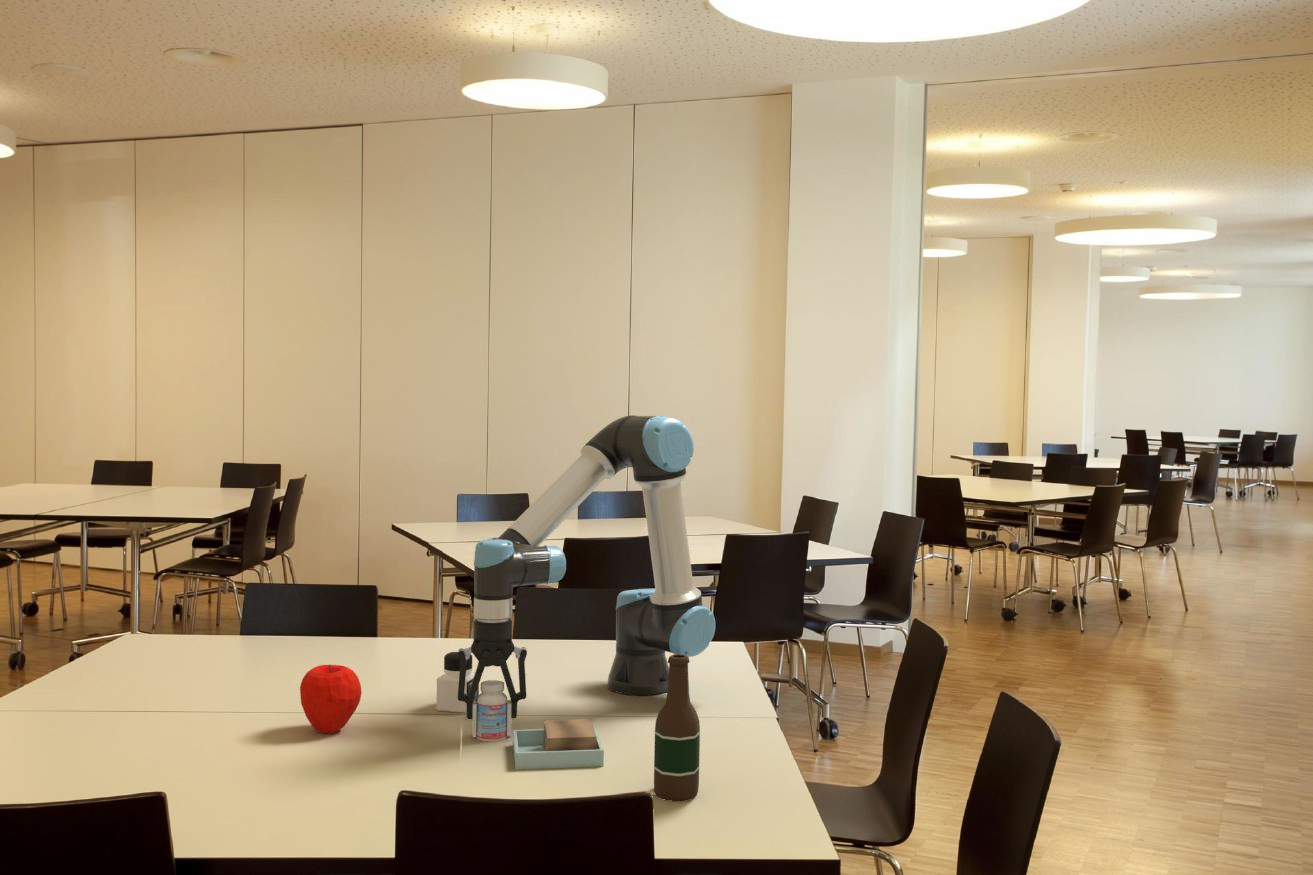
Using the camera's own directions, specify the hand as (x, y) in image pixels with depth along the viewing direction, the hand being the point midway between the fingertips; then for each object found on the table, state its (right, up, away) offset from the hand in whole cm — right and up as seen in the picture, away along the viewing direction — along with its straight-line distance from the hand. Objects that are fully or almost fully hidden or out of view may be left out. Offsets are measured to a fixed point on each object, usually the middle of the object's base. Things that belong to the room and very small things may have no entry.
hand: (491, 734), depth 218 cm
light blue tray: (+14, -2, -11) cm, 18 cm away
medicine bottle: (-11, 0, +22) cm, 24 cm away
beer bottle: (+36, -3, -28) cm, 46 cm away
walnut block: (+16, -1, -10) cm, 19 cm away
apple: (-33, 0, +4) cm, 33 cm away
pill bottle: (0, -1, 0) cm, 1 cm away
